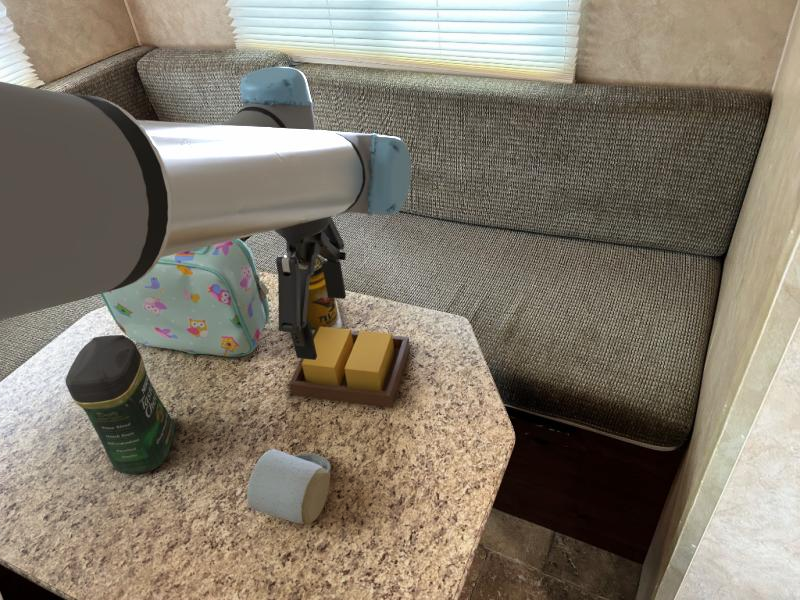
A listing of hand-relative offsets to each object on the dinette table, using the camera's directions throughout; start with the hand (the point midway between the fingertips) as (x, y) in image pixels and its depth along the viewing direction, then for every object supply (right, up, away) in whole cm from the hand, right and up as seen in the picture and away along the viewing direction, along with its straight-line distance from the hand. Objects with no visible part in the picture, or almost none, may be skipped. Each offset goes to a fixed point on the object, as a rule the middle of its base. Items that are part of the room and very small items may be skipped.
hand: (323, 325), depth 89 cm
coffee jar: (-25, -17, -3) cm, 30 cm away
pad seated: (+7, -7, +4) cm, 11 cm away
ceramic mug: (-2, -22, -11) cm, 24 cm away
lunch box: (-22, -3, +15) cm, 27 cm away
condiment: (-3, 0, +16) cm, 16 cm away
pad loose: (+1, -7, +6) cm, 9 cm away
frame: (+4, -7, +6) cm, 10 cm away
